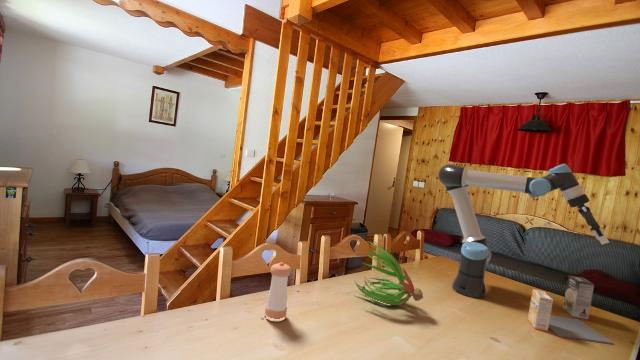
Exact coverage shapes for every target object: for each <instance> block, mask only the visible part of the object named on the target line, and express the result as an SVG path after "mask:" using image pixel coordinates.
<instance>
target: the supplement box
mask: <svg viewBox="0 0 640 360" xmlns="http://www.w3.org/2000/svg"><path fill="white" fill-rule="evenodd" d="M553 303H554V299H553V298H552V296H550V295H549V294H548V293H547V292H545V291H544V290H543V291H542V290H538V289H532V292H531V299H530V303H529V310H528V316H527V321H529V324H531V325H532V327H533V328H534V329H535V330H537V331H543V332H548V330H549V328H548V326H549V321H550V315H551V316H552V314H551V312H552V309H553Z"/></svg>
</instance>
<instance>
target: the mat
mask: <svg viewBox="0 0 640 360" xmlns="http://www.w3.org/2000/svg"><path fill="white" fill-rule="evenodd" d="M548 330H550V331H551V332H552V333H554V335H556V336H557V337H559V338H560V337H561V338H566V339H567V338H568V339H573V340H574V339H576V340H582V341H588V342H593V343H594V342H595V343H600V344H606V345H607V344H608V345H614V342H613V341H612V340H610V339H609V338H607V337H606V336H604V335H602V334H601V333H599V332H598V331H596V330H595V329H594V328H592V327H590V326H589V325H587V323H584V322H583V321H582V320H580V319H579V318H578V319H577V318H571V317H563V316H556V315H552V314H551V315H550V321H549V326H548Z"/></svg>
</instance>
